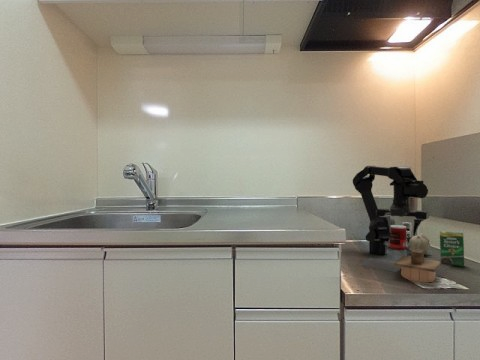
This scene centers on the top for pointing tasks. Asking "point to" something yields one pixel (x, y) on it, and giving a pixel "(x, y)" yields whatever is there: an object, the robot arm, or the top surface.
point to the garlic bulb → (419, 243)
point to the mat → (381, 264)
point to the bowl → (417, 274)
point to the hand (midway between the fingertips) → (401, 234)
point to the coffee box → (452, 248)
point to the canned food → (398, 237)
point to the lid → (418, 261)
